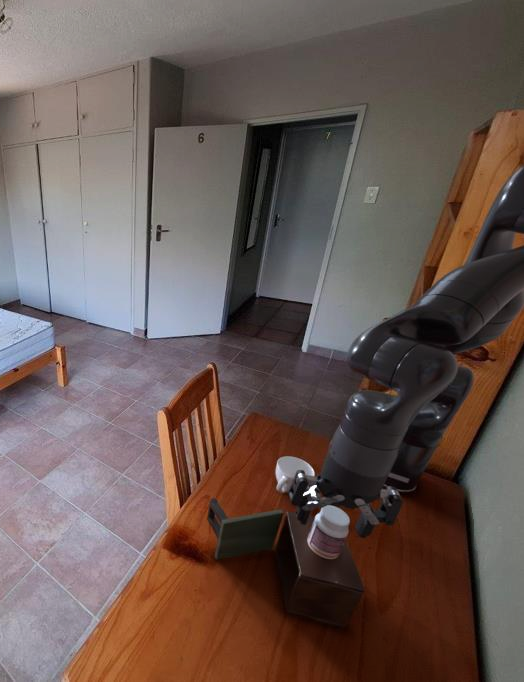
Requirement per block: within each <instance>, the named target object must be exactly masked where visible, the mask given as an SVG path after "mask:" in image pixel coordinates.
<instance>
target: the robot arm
mask: <svg viewBox="0 0 524 682" xmlns="http://www.w3.org/2000/svg"><path fill="white" fill-rule="evenodd" d="M516 233H517V234H521V235H524V164H523V165H522V166H520V167H519V168H518V169H516V170H515V171H514V172H513V173H512V174H511V176H509V177H508V179H507V180H506V181H505V183H504V184H503V185H502V186H501V188H500V189H499V192H498V193H497V194H496V196H495V198H494V200H493V202H492V204H491V206H490V208H489V210H488V211H487V214H486V216H485V219H484V221H483V223H482V225H481V228H480V230H479V232H478V234H477V237H476V238H475V241H474V244H473V245H472V247H471V250H470V252H469V254H468V256H467V259H466V260H465V261H464V264H463V265H460V266H458V267H456V268H454V269H452V270H450V271H448V272H447V273H446V274H444V275H443V276H442V277H441V278H440V279H438V280H437V281H436V282H435V283H434V284H433V285H432V286H431V287H430V288H429V289H427V291H425V292H424V293H423V294H422V295H421V296H420V297H419V298H418V299H417V300H416V301H415V302H414V303H413V304H412V305H410V306H408V307H406V308H405V309H402V310H400V311H399V312H397V313H395V314H394V315H392V316H389V317H388V318H386V319H383V320H382V321H380V322H378V323H376V324H375V325H372V326H370V327H369V328H367V329H366V330H364V331H363V332H361V333H360V334H359V335H358V336H357V337H356V338H355V339H354V340H353V341H352V343H351V344H350V346H349V348H348V350H347V355H346V362H347V366H348V368H349V369H350V370H351V372H353V373H354V374H356V375H358V376H359V377H362V378H365V379H367V380H369V381H371V382H374V383H377V384H378V385H380V386H383V387H385V388H387V389H390V390H392V391H394V392H396V393H397V394H396V395H395V394H391V393H387V392H383V391H377V390H372V389H371V390H370V389H363V390H358V391H356V392H354V393H353V394H351V395H350V397H349V399H348V401H347V403H346V406H345V409H344V411H343V414H342V417H341V419H340V422H339V424H338V426H337V427H336V430H335V432H334V433H333V435H332V438H331V440H330V442H329V445H328V450H327V452H326V455H325V458H324V461H323V464H322V467H321V471H320V473H318V474H317V475H316V476H315V475H314V476H310V475H305V472H304V471H303V470H297V472H296V474H295V477H294V479H293V481H292V484H291V486H290V488H289V491H288V493H289V494H288V493H287V494H288V497H289V501H290V504H291V505H292V506H293V507H295V506H296V509H295V513H296V515H297V519H298V521H300V524H303V525H306V523H307V521H308V518H309V516H311V511H312V510H314V509H316V508H319V509H322V508H323V507H325V506H327V505H330V506H335V507H343V508H346V509H349V510H355V509H359V510H360V512H361V513H360V515H359V517H358V519H357V521H356V523H355V531H356V534H357V536H358V538H361V539H366V537H369V536H370V535H371V534H372V533H373V531H374V529H375V527H376V526H378V525H380V524H385V525H386V526H394V525H395V523H396V521H397V518H398V517H399V513H400V511H401V509H402V507H403V504H404V499H403V498H402V496H401V495H400V494H410V493H413V492H414V491H415V490H416V488H417V485H418V484H419V481H420V480H421V478H422V476H423V474H424V473H425V470H426V468H427V467H428V465H429V463H430V461H431V459H432V457H433V456H434V454H435V452H436V450H437V448H438V447H439V444H440V442H441V441H442V439H443V436H444V435H445V433H446V431H447V430H448V428H449V427H450V425H451V424H452V421H454V418H455V416H456V415H457V413H458V412H459V410H460V409H461V407H462V406H463V405H464V403H465V401H466V400H467V398H468V396H469V395H470V393H471V391H472V389H473V386H474V382H475V373H474V371H473V370H472V369H471V368H470V367H467V366H465V365H461V364H459V363H458V361H457V358H456V356H455V355H458V354H461V353H464V352H467V351H470V350H474V349H477V348H479V347H482V346H485V345H487V344H489V343H491V342H493V341H495V340H497V339H498V338H499V337H501V336H502V335H503V334H504V333H505V332H506V331H507V330H508V329H509V327H510V326H511V324H512V323H513V322H514V320H515V319H516V318H517V316H519V314H520V313H521V312H522V310H523V308H524V244H523V245H520V246H517V247H514V242H515V238H516ZM321 495H322V497H321ZM380 498H381V502H380V503H379V504H380V505H379V507H378V509H374V508H373V507H372V505H371V503H373V502H375V501H378V500H379V499H380Z"/></svg>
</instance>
